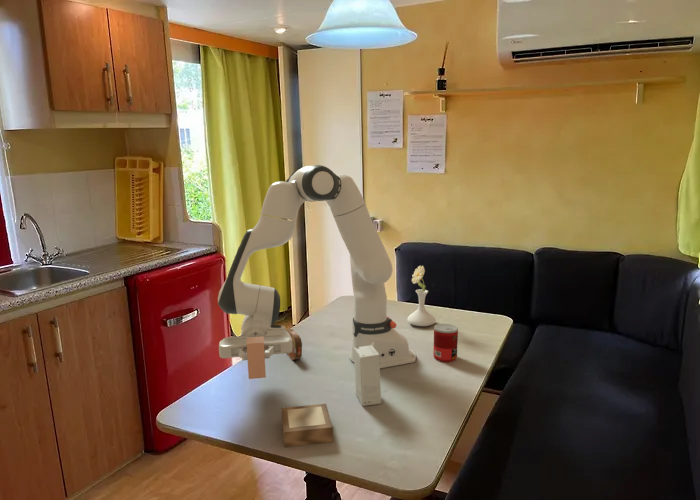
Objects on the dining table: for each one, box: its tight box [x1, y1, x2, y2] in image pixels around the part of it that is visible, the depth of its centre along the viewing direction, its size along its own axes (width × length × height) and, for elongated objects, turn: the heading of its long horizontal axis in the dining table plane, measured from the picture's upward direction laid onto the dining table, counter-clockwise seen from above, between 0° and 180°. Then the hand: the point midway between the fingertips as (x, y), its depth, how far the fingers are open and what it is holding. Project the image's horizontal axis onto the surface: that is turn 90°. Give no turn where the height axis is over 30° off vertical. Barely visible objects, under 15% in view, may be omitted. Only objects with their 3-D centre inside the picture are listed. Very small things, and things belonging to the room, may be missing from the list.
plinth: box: [280, 403, 334, 448], centre depth 136 cm, size 12×12×4 cm
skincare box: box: [353, 345, 382, 407], centre depth 151 cm, size 8×6×15 cm
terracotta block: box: [247, 336, 267, 380], centre depth 142 cm, size 4×4×10 cm
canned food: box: [433, 323, 459, 363], centre depth 179 cm, size 8×8×11 cm
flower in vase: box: [407, 265, 436, 327], centre depth 210 cm, size 13×11×25 cm
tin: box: [285, 328, 303, 361], centre depth 183 cm, size 15×3×8 cm, turn 23°
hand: (256, 356), depth 141 cm, fingers closed on terracotta block, 4 cm apart
